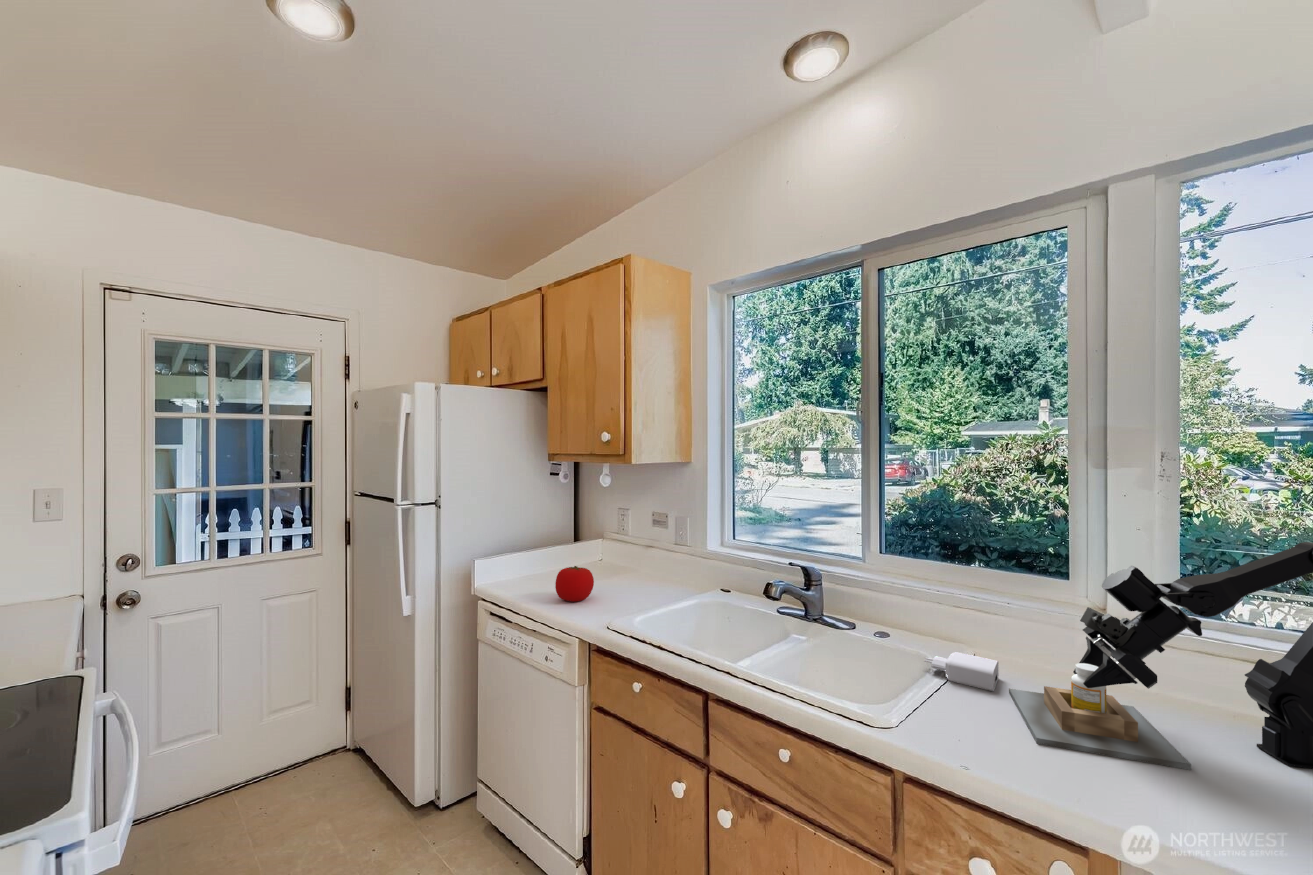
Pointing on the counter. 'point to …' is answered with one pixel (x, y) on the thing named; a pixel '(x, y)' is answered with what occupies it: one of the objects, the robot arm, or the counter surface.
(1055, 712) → the socket block
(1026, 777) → the counter surface
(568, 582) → the tomato
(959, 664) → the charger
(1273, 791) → the counter surface
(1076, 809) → the counter surface
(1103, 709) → the supplement bottle
